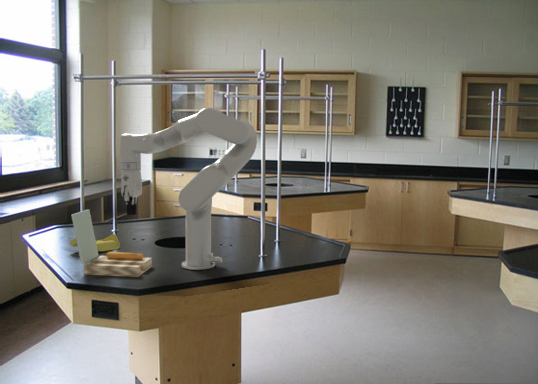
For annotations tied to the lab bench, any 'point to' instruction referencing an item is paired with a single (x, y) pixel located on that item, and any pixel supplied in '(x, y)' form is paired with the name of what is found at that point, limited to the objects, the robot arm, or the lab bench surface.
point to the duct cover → (85, 235)
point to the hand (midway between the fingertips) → (131, 214)
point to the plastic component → (103, 243)
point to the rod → (125, 255)
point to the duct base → (117, 267)
